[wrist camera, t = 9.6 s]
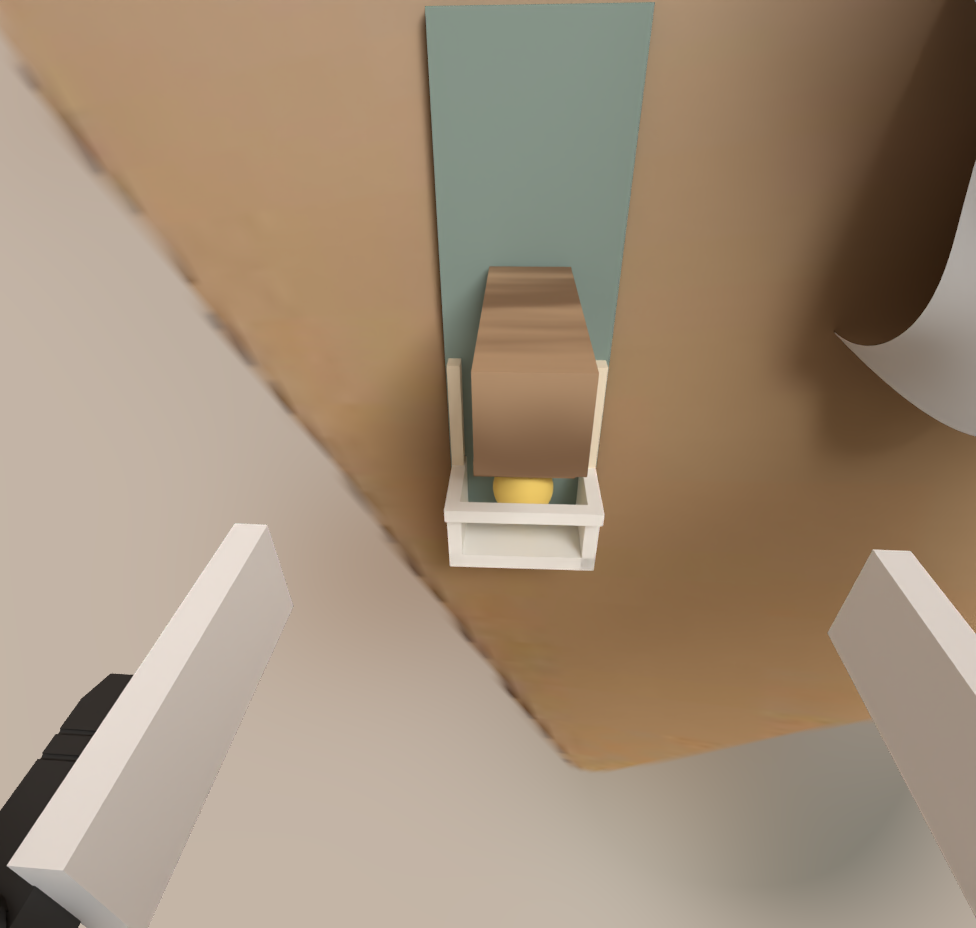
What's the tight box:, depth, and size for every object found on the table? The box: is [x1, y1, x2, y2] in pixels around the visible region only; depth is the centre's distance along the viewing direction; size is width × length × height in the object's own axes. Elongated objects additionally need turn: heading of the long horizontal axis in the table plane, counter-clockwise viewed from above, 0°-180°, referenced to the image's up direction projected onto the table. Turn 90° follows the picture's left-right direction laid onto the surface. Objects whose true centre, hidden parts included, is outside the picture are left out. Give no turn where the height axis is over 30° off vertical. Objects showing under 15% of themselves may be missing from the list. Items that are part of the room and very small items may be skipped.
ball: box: [493, 477, 553, 504], centre depth 33 cm, size 4×4×4 cm
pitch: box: [425, 2, 655, 505], centre depth 29 cm, size 27×9×2 cm, turn 0°
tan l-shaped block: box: [471, 266, 599, 479], centre depth 25 cm, size 10×6×12 cm, turn 0°
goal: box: [444, 456, 604, 571], centre depth 33 cm, size 5×9×5 cm, turn 91°
